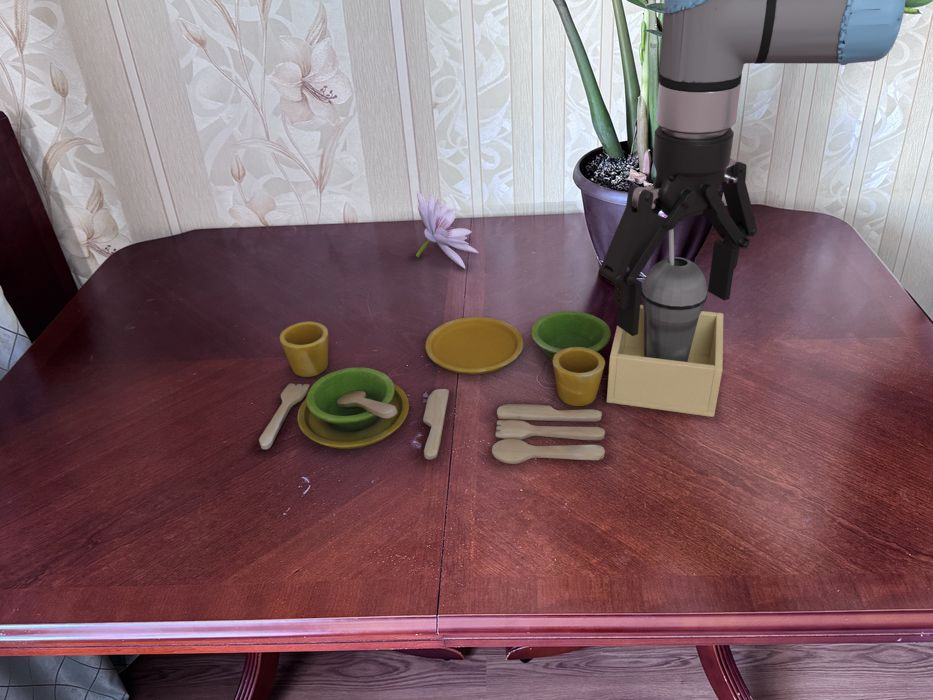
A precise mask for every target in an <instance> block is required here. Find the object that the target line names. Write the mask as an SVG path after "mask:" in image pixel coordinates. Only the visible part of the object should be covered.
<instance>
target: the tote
mask: <svg viewBox="0 0 933 700" xmlns="http://www.w3.org/2000/svg"><path fill="white" fill-rule="evenodd" d="M723 353H724V313H722V312H714V311H704V310H702V311H701V313H700V315H699V318H698V322H697V326H696V330H695V334H694V338H693V342H692V346H691V350H690V354H689V358H688V361H687V362H682V361H673V360H665V359H657V358H649V357H644V309H643V304H640V315H639V327H638V334H637V335H635V336H631V335H630V334H629V333H627V332H626V331H624V330H623V329H621V328H620V327H619V326H617V325H616V329H615V333H614V338H613V342H612V347H611V351H610V355H609V362H608V363H609V364H608V376H607V377H608V378H607V390H606V391H607V394H606V403H608V404H616V405H622V406H623V405H624V406H630V407H631V406H632V407H638V408H644V409H652V410H659V411H668V412H674V413H681V414H688V415H695V416H701V417H702V416H704V417H709V418H714V417H715V413H716V409H717V402H718V397H719V391H720V386H721V382H722V381H721V380H722V376H723V366H724V365H723V360H724V358H723V357H724V354H723Z"/></svg>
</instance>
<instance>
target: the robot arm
mask: <svg viewBox="0 0 933 700" xmlns="http://www.w3.org/2000/svg"><path fill="white" fill-rule="evenodd" d="M905 7H906V0H664V5H663V15H662V16H663V17H662V31H661V33H662V34H661V48H660V63H659V64H660V65H659V79H658V89H657V100H656V111H655V112H656V114H655V115H656V116H655V122H656V124H657V125H658V127H657V128H656V129H655V130H654V135H653V136H654V137H653V148H652V149H653V150H652V163H653V166H654V170H655V178H654V180H653V183H652V185H650V186H643V187H641V186H640V185H637V184H631V185H630V187H629V188H628V189H627V190H628V191H627V198H626V204H625V208H624V210H623V213H622V216H621V218H620V220H619V223H618V225H617V227H616V230H615V232H614V234H613V237H612V239H611V241H610V244H609V246H608V249H607V251H606V253H605V256H604V257H603V258H604V259H603V261H602V263H601V265H600V267H599V270H598V272H599V275H600V276H602V277H604V278H605V279H607V280H608V281H610V282H611V283H612V284H614V294H613V295H614V297H613V303H614V304H615V306H617V320H616V327H617V326H619V327H620V328H621V329H623V330H624V331H626V332H627V333H629V334H630V335H631V336H635V335H637V334H638V327H639V315H640V305H641V299H642V295H641V289H642V286H643V282H642V281H641V280H639V279H638V278H639V277H640V275H641V273H642V272H643V271H644V269H645V267H646V265H647V264H648V262H649V261H650V259H651V258H652V256H653V255H654V254H655V251H656V250H657V248H658V247H659V245H660V244H661V242H662V241H663V239H664V238H665V236H666V234H667V233H669V230H672V229H675V228H676V226H677V224H678V223H679V222H683V221H685V220H687V219H689V218H690V217H698V216H701V215H704V216H705V217H706V219H707V220H708V222H709V223H710V224H711V226H712V227H713V229H714V230H715V232H716V233H717V234H718V235H719V237H720V238H721V239H718V240H715V241H714V242H713V249H712V257H711V263H710V272H709V279H708V285H707V292H708V293H710V294H711V295H713V296H715V297H717V298H719V299H720V300H722V301H728V300H730V296H731V290H732V285H733V277H734V271H735V269H736V267H737V265H738V261H739V260H738V259H739V253H740V248H741V249H742V250H745V249H748V247H749V245H750V243H751V240H750V239H749V238H748V237H751V238H753V237H754V236H755V235H756V234H757V232H758V227H757V221H756V219H755V215H754V211H753V206H752V202H751V198H750V194H749V191H748V187H747V183H746V179H747V164H746V163H744V162H741V161H739V160H736V159H733V158H732V157H731V156H732V149H733V144H734V142H733V141H734V134H735V133H734V130H732V127H733V126H735V125H736V124H737V117H738V108H739V100H740V93H741V87H742V86H741V84H742V78H743V70H744V66H745V64H758V65H759V64H760V65H762V64H832V65H833V64H835V65H836V64H837V65H838V64H839V65H840V66H846V65H848V64H858V63H868V62H869V63H871V62H879V61H880V60H882V59H884V58H885V57H886V56H888V54H889V53H890V51H891V50H892V49H893V47H894V45H895V44H896V41H897V39H898V36H899V34H900V30H901V26H902V22H903V19H904V18H903V17H904V14H905ZM720 187H721V189H722V192H723V193H722V194H723V197H724V200H725V201H723V199H722V198H721V196H720V195H719V194H718V190H719V189H720ZM724 202H725V203H724ZM725 207H727V209H726V208H725ZM661 211H662V213H663V214H664V215H665V216H666V217H665V216H662V215H660V214H659V213H660V212H661ZM628 268H629V269H628Z"/></svg>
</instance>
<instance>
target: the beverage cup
mask: <svg viewBox="0 0 933 700" xmlns="http://www.w3.org/2000/svg"><path fill="white" fill-rule="evenodd" d="M674 229H675V228H674ZM674 229H672V230H669V231H668V257H667V258H664V259H662V260H660V261H658V262H656V263H655V264H654V265H653V266H652V267H651V268H650V269H649V270H648V273H647V274H646V276H645V277H644V279H643V282H642V289H641V299H642V305H643V309H644V357H649V358H657V359H665V360H673V361H682V362H687V361H688V358H689V354H690V350H691V346H692V342H693V338H694V334H695V330H696V326H697V322H698V318H699V315H700V313H701V311H703V309H704V306H705V304H706V301H707V299H708V293H707V292H708V286H707V281H706V277H705V275H704V273H703V271H702V269H700V267H699V266H698V265H697V264H696V263H694V261H691V260H689V259H687V258H685V257H680V256H675V230H674Z"/></svg>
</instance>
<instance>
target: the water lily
mask: <svg viewBox="0 0 933 700" xmlns="http://www.w3.org/2000/svg"><path fill="white" fill-rule="evenodd" d="M416 197H417V203H418V204H417V210H418V214H419V217H420V219H421V222H422V223H423V225H424V227H425V228H424V231H423V234H424V236H425V239H426V240H425V242H423V244H422V245H421V246H420V248H419V249H418V251H417V252H416V254H415V256H416V257H417V258H419V257H420V256H421V255H422V254H423V252H424V250H425V249H426V248H427V246H428V245H429V244H430V243H434V244H435V243H437V245H438V247H439V248H440V249H441V250H442V252H443V253H444V254H445V256H447V257H448V258H449V259H450V260H451V261H452V262H454V263H455V264H456V265H458V266H459V267H461V268H462V269H464V270H466V265H465V262H464V261H463V259H462V258H461V256H460V255H459V254H458V253H457V252H456V251H454V250H453V249H452V248H455V249H458V250H461V251H464V252H468V253H472V254H473V253H474V254H479V251H478V250H477V249H476V248H474V247H473V246H471V245H470V243H469V242H467V241H465V240H468V237H467V236H468V235H470V234H472V232H473V231H472V230H470V229H468V228H464V227H463V228H461V227H457V228H453V226H451V225H452V224H453V222H455V219H456V215H457V211H456V208H450V209H449V207H448V205H446V204H443V205H441V204H440V201H439V199H438V198H437V199H435V197H434V195H433V193H432V192H429V194H428V202H427V201H426V199H425V197H424V196H423V194H422V193H421V192H419V190H416ZM450 247H452V248H450Z"/></svg>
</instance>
